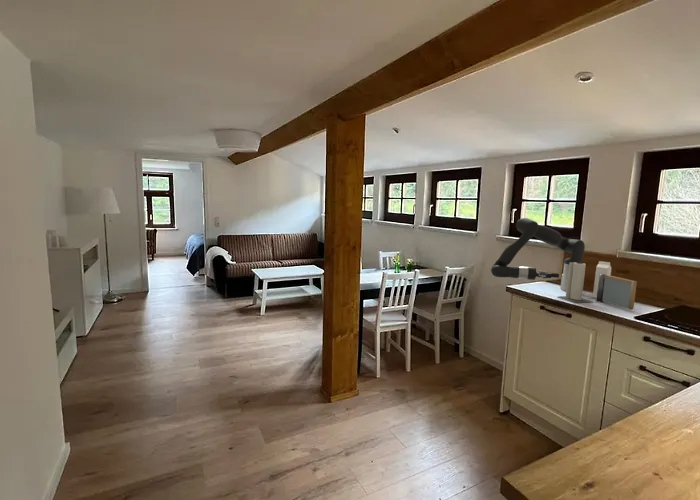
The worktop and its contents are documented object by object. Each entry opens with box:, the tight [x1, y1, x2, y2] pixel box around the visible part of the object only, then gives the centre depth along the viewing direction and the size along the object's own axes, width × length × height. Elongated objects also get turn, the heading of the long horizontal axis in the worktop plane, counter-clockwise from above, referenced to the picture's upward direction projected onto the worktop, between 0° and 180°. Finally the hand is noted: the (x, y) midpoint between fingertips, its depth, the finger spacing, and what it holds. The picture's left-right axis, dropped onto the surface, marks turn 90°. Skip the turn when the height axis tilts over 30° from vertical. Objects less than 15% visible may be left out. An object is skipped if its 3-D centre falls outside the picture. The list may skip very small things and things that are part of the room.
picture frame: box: [602, 275, 638, 310], centre depth 205 cm, size 18×2×15 cm, turn 13°
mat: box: [557, 295, 594, 304], centre depth 219 cm, size 13×13×1 cm
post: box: [595, 274, 606, 303], centre depth 216 cm, size 3×3×16 cm
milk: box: [592, 260, 612, 299], centre depth 224 cm, size 6×6×22 cm
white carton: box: [565, 262, 587, 300], centre depth 218 cm, size 7×6×21 cm
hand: (558, 275), depth 220 cm, fingers closed
